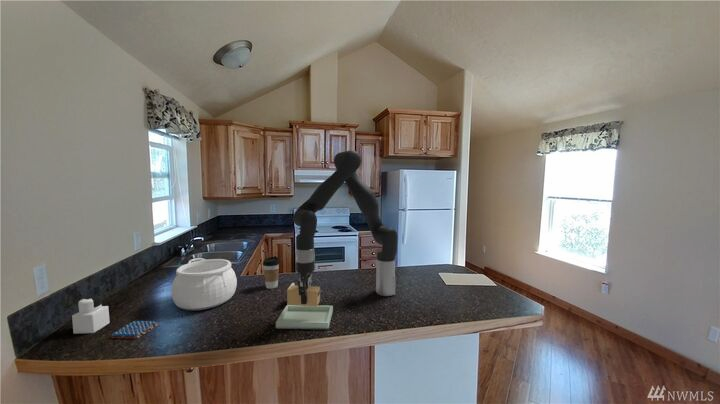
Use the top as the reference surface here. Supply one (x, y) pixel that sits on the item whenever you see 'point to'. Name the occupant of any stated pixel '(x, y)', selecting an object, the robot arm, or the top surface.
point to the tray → (305, 317)
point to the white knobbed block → (90, 315)
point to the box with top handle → (295, 298)
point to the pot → (203, 284)
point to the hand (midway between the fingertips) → (305, 300)
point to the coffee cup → (271, 272)
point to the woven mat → (135, 329)
